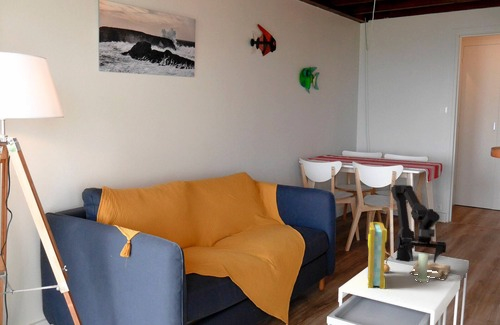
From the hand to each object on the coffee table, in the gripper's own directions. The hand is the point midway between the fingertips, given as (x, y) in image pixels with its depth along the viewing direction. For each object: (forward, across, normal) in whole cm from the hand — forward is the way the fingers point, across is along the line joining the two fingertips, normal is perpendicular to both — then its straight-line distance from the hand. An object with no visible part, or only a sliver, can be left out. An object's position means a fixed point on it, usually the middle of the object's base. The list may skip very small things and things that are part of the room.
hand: (423, 261), depth 209 cm
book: (+14, -19, -2) cm, 24 cm away
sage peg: (+7, 0, +5) cm, 9 cm away
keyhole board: (-4, +3, +15) cm, 16 cm away
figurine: (+4, -17, +8) cm, 19 cm away
